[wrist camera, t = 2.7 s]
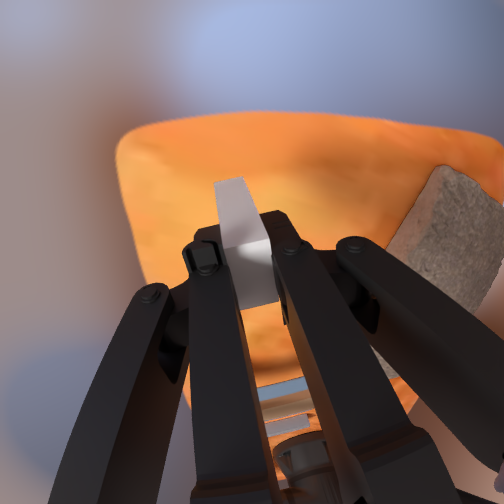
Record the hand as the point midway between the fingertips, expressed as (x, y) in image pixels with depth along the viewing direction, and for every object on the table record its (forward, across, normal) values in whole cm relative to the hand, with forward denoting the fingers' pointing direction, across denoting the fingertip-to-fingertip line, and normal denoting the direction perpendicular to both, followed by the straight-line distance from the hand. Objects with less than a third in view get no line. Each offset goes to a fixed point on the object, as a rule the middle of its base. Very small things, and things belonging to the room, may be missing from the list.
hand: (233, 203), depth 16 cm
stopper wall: (+10, 0, +48) cm, 49 cm away
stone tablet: (+11, -23, +21) cm, 33 cm away
